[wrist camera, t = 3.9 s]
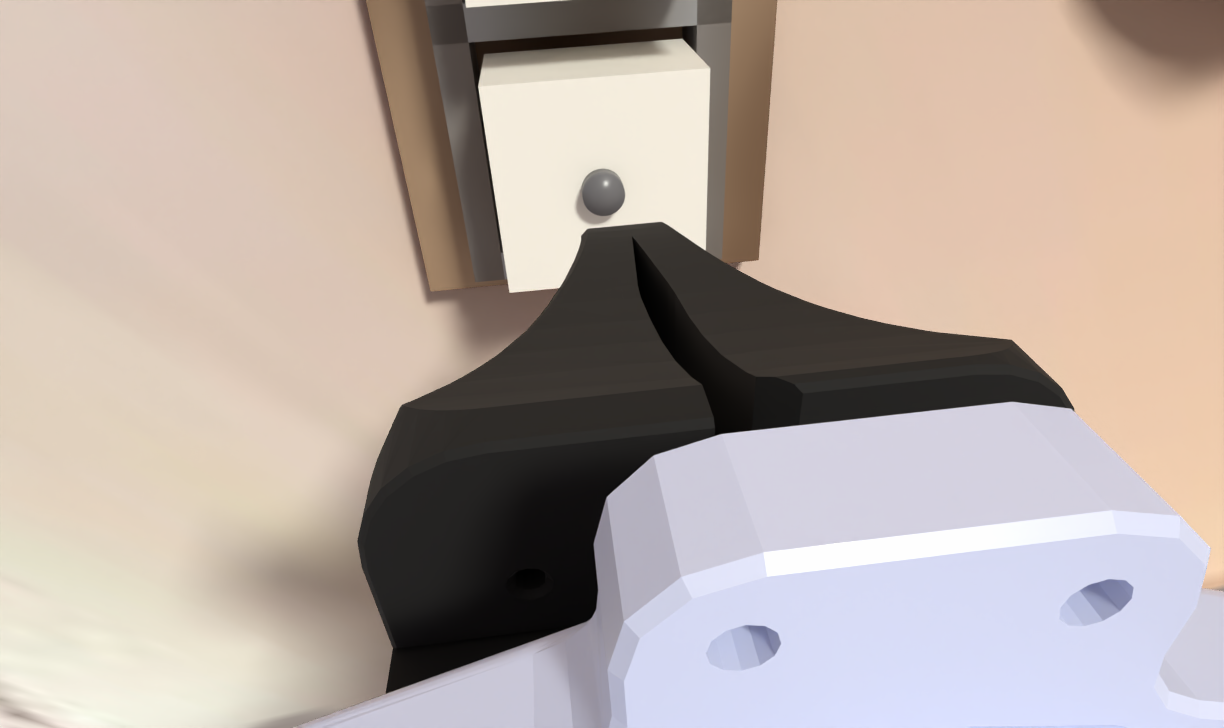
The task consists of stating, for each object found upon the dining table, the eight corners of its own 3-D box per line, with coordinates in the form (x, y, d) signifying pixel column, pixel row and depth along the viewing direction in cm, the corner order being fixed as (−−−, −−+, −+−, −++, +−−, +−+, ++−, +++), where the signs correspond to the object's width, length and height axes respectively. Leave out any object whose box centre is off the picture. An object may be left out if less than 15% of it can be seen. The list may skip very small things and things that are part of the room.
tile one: (510, 237, 19) (509, 301, 16) (484, 53, 17) (477, 91, 14) (681, 222, 19) (708, 282, 17) (682, 38, 17) (714, 72, 14)
